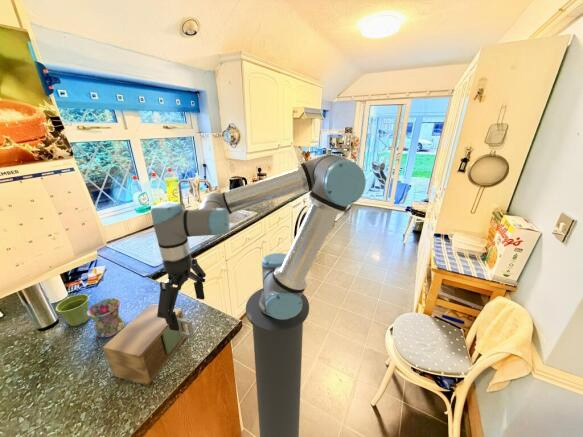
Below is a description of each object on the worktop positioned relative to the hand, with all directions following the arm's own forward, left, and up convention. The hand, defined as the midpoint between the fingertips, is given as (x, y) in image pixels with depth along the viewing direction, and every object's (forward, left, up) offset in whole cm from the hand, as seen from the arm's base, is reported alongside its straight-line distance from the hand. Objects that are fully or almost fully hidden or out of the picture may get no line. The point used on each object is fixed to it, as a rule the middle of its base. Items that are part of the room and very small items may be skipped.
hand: (188, 312), depth 75 cm
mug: (+23, -24, -14) cm, 36 cm away
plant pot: (+32, -38, -14) cm, 52 cm away
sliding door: (+4, -1, -13) cm, 13 cm away
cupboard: (+12, -5, -14) cm, 19 cm away
